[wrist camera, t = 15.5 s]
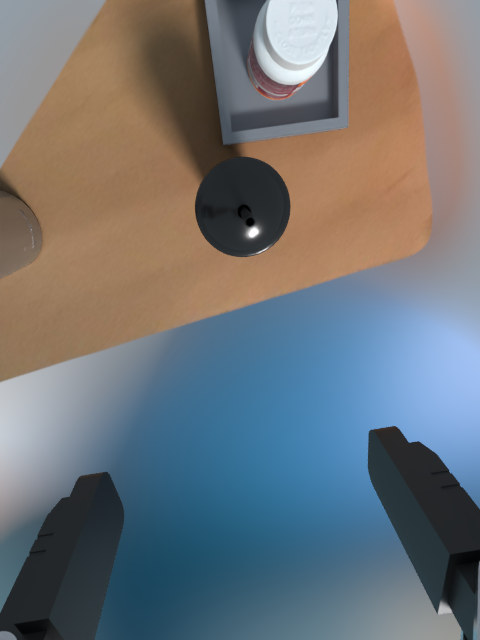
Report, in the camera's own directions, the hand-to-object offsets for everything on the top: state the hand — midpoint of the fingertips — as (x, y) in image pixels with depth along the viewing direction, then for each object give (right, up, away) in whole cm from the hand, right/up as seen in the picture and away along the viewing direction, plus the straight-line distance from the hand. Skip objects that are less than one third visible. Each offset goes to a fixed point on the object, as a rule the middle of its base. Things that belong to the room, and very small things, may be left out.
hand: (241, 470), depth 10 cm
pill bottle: (+4, +30, +23) cm, 38 cm away
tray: (+4, +31, +24) cm, 39 cm away
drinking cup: (-1, +19, +29) cm, 35 cm away
